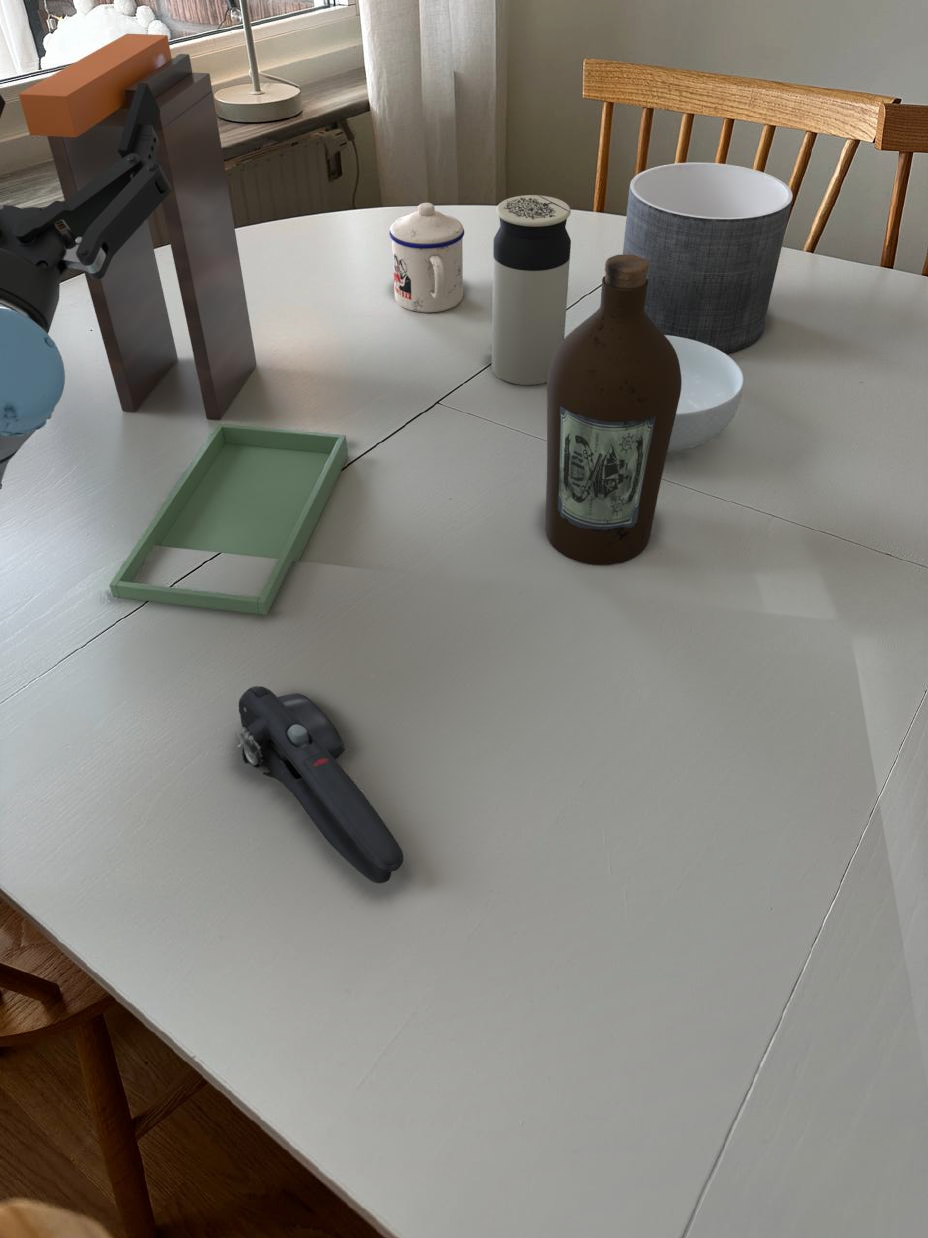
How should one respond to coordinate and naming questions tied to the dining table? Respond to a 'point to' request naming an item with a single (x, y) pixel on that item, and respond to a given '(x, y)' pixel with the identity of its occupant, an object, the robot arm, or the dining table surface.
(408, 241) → the teacup with lid
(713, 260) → the planter
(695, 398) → the cereal bowl
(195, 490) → the tray
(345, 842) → the can opener
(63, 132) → the orange rectangular bar
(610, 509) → the olive oil
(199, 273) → the tall brown stand
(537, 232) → the travel mug
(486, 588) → the dining table surface
